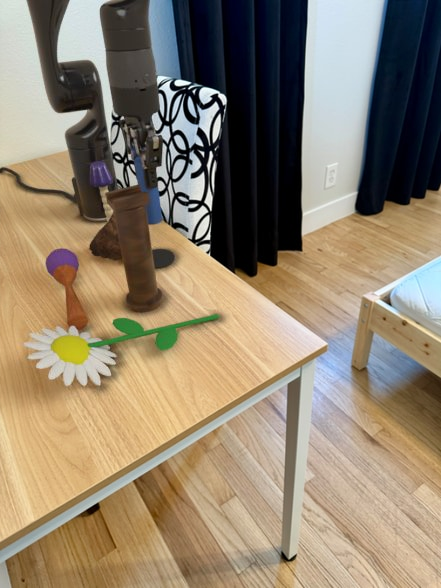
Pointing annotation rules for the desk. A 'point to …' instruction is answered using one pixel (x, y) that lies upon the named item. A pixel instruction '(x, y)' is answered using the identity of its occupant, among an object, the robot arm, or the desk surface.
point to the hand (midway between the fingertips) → (147, 183)
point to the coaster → (162, 258)
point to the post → (135, 247)
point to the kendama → (67, 283)
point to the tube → (154, 206)
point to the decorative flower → (93, 348)
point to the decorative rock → (107, 242)
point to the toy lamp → (101, 183)
